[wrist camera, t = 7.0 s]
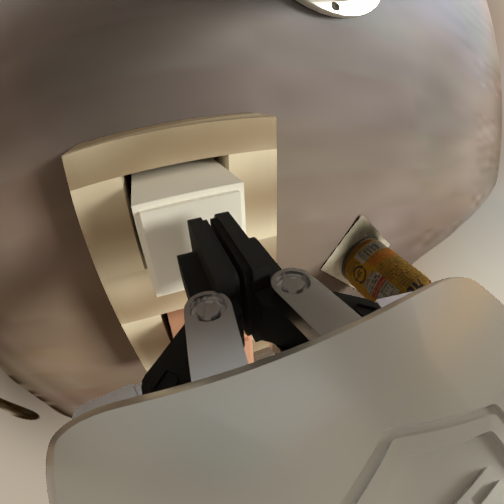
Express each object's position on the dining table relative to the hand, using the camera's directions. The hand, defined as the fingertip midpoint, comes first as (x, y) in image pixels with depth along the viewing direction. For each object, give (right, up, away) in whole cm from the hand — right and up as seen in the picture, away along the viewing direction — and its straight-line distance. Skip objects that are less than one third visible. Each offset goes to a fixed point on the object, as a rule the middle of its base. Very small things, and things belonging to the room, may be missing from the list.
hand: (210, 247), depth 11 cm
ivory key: (-3, +3, +6) cm, 8 cm away
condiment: (+14, 0, +19) cm, 24 cm away
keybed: (-4, 0, +10) cm, 11 cm away
